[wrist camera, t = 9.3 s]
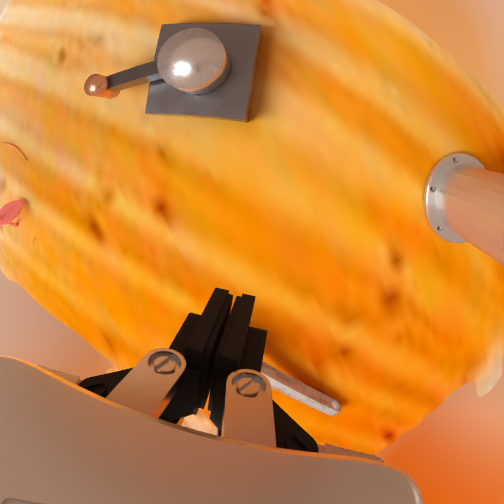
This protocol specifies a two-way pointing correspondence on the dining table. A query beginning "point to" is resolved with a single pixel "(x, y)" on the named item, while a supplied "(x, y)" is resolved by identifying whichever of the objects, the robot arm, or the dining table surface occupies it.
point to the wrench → (300, 390)
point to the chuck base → (225, 95)
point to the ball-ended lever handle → (173, 66)
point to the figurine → (11, 211)
